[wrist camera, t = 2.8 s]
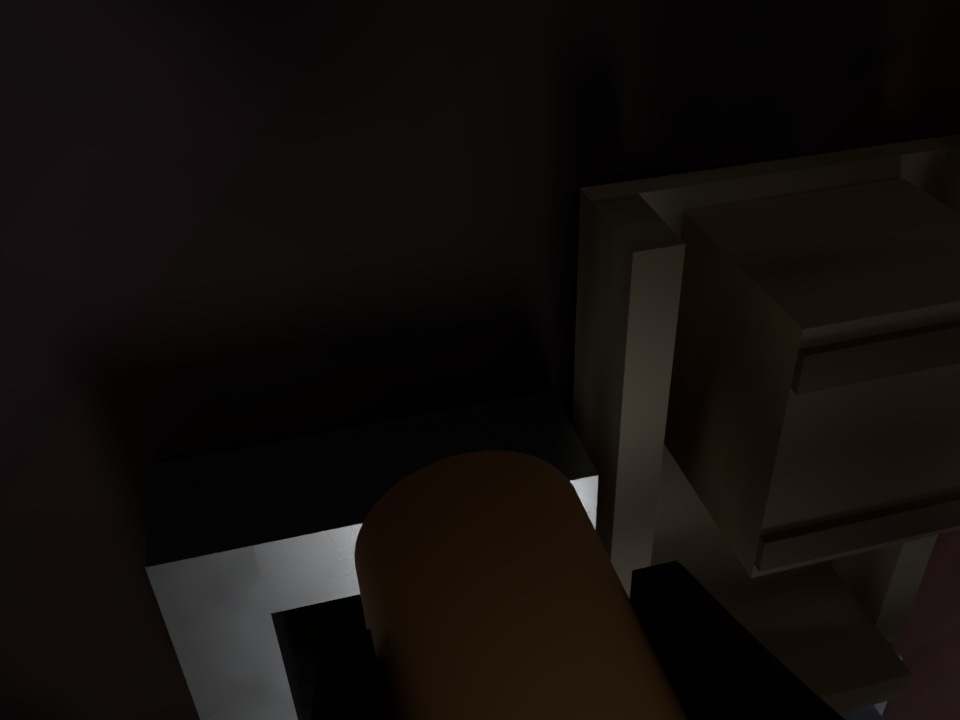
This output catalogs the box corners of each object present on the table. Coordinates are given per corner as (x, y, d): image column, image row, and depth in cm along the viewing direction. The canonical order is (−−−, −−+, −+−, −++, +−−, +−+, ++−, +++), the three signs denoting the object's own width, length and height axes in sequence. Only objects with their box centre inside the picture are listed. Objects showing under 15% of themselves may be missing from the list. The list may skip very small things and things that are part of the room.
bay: (843, 567, 28) (935, 688, 25) (565, 633, 26) (621, 772, 23) (969, 132, 20) (1134, 219, 16) (580, 188, 18) (670, 297, 15)
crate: (846, 401, 23) (974, 534, 19) (660, 438, 22) (756, 585, 18) (903, 178, 19) (1073, 288, 16) (684, 211, 18) (808, 335, 15)
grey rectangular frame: (547, 724, 29) (586, 834, 26) (260, 796, 27) (267, 923, 24) (553, 390, 21) (609, 494, 18) (151, 463, 19) (143, 592, 17)
